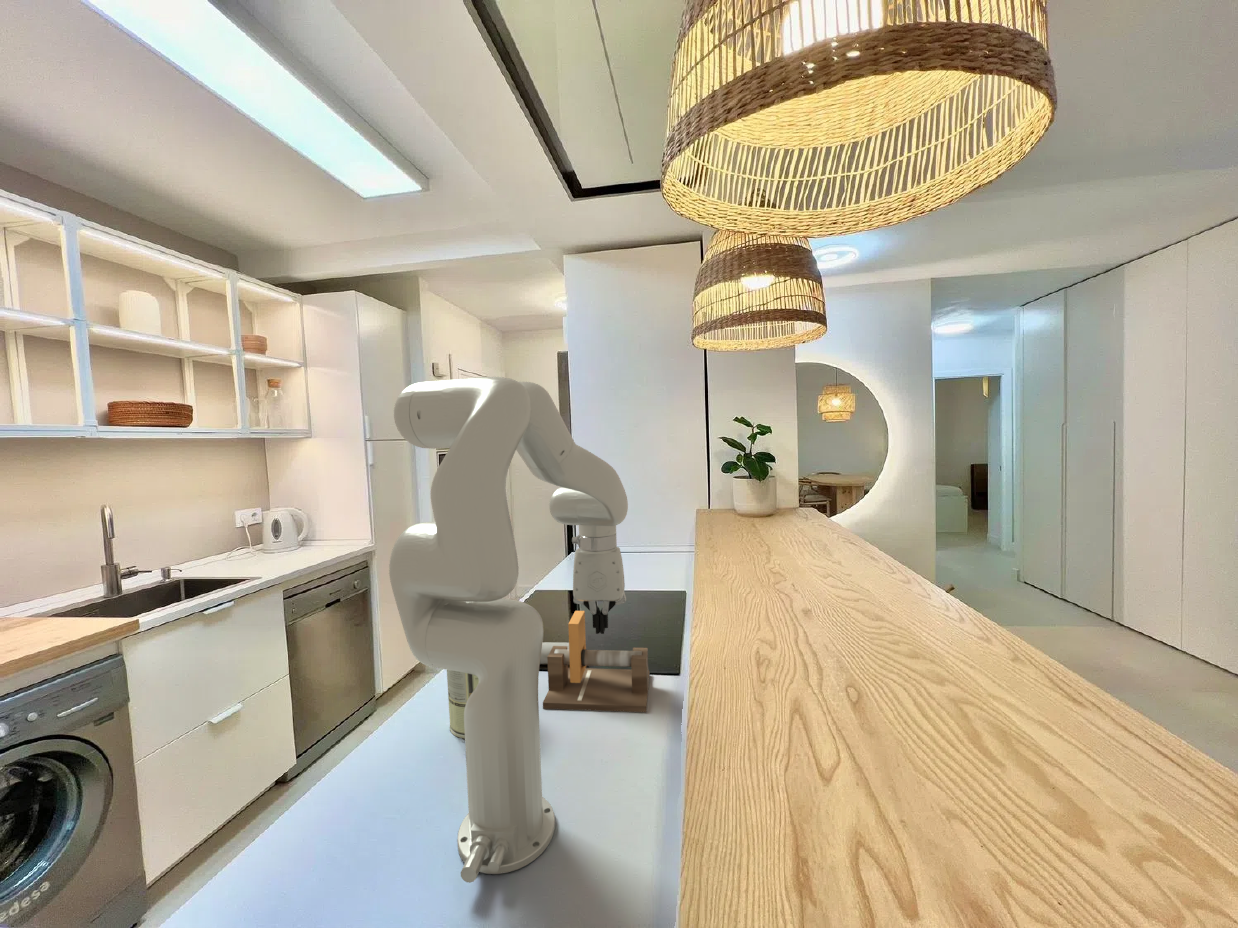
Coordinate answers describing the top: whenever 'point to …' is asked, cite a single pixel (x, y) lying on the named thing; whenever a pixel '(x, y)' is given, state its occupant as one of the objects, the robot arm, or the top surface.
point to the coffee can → (459, 698)
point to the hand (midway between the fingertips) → (600, 630)
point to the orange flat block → (576, 645)
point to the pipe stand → (599, 681)
